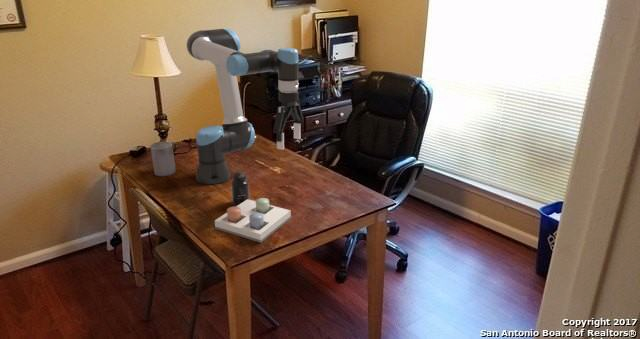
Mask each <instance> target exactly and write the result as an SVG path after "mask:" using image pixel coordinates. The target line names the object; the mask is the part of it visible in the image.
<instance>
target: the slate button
mask: <svg viewBox="0 0 640 339" xmlns="http://www.w3.org/2000/svg"><path fill="white" fill-rule="evenodd" d="M249 220H250V228H252V229H261V228H263V227H264V215H263V214H262V213H252V214H251V215H250V216H249Z"/></svg>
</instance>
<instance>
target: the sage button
mask: <svg viewBox="0 0 640 339" xmlns="http://www.w3.org/2000/svg"><path fill="white" fill-rule="evenodd" d="M255 201H256V211H257V212H259V213H267V212H269V205H270V200H269V198H266V197H260V198H257V199H256V200H255Z"/></svg>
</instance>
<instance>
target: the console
mask: <svg viewBox="0 0 640 339" xmlns="http://www.w3.org/2000/svg"><path fill="white" fill-rule="evenodd" d="M235 207H239V208H240V209H241V221H239V222H236V223H232V222H228V220H227V212H226V213H224V214H223V215H221V216H219V217H218V218H216V219H215V220H214V228H215V229H216V230H217V231H221V232H225V233H227V234H231V235H235V236H238V237H240V238H241V237H242V238H245V239H248V240H251V241H253V242H258V243H260V244H262V243H263V241H265V240H267V238H269V237H270V236H271V235H272V234H274V233H275V232H276V231H278V229H279V228H281V227H283V225H284V224H286V223H287V222H288V221H290V220H291V219H292V215H291V214H292V212H291V210H290V209H287V208H283V207H280V206H275V205H272V204H269V212H267V213H262V214H263V215H264V227H263V228H261V229H252V228H250V220H249V216H250V215H251V214H252V213H259V212H257V211H256V200H251V199H250V198H249V199H247V200H246V201H244V202H243V203H241V204H239V205H235Z"/></svg>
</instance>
